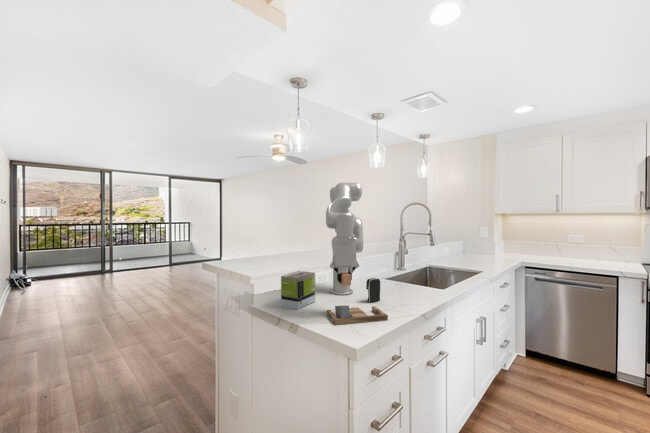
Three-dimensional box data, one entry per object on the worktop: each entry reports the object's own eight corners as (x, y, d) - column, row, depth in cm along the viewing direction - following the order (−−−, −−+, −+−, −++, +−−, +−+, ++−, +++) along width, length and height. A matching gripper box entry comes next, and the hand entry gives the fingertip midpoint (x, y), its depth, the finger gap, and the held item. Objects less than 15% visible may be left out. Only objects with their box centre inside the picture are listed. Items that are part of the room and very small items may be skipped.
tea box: (299, 298, 153) (299, 270, 153) (315, 301, 148) (315, 272, 148) (280, 306, 140) (280, 275, 140) (297, 310, 135) (297, 277, 135)
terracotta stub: (338, 281, 136) (338, 271, 136) (345, 281, 137) (345, 271, 137) (343, 285, 129) (343, 275, 129) (350, 285, 129) (350, 274, 129)
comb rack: (326, 314, 129) (326, 310, 129) (374, 310, 135) (374, 306, 135) (335, 325, 117) (335, 319, 117) (387, 320, 123) (387, 315, 123)
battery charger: (375, 299, 153) (375, 276, 153) (380, 300, 150) (380, 278, 150) (365, 301, 149) (365, 278, 149) (370, 303, 146) (370, 279, 146)
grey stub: (335, 317, 126) (335, 305, 127) (343, 316, 127) (342, 305, 128) (341, 318, 119) (340, 306, 120) (349, 317, 120) (348, 305, 121)
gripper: (359, 239, 138) (359, 279, 138) (324, 240, 135) (324, 281, 135) (365, 241, 131) (365, 283, 131) (328, 241, 127) (328, 284, 127)
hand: (344, 281), depth 133 cm, fingers closed on terracotta stub, 3 cm apart
